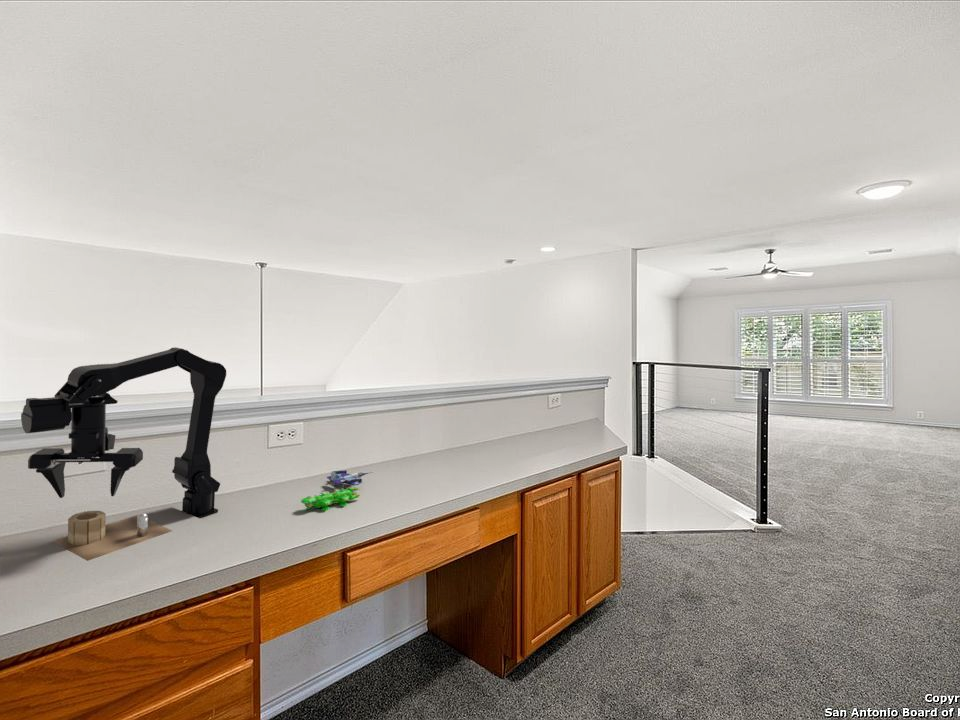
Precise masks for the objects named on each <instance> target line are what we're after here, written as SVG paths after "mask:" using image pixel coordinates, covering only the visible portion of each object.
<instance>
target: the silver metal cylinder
mask: <svg viewBox="0 0 960 720" xmlns="http://www.w3.org/2000/svg"><path fill="white" fill-rule="evenodd" d="M148 520H149V515H148V514H147V513H146V512H145V513H144V512H142V513H140V514H138V517H137V536H138V537H143V536H146V535H147V534H148Z"/></svg>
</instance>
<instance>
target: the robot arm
mask: <svg viewBox="0 0 960 720" xmlns="http://www.w3.org/2000/svg"><path fill="white" fill-rule="evenodd" d="M175 367H178V368H180V369H182V370H183V371H186V372H187V373H189V380H190V386H191V388H192V393H193V400H192V407H191V413H190V419H189V426H188V434H187V438H186V445H185V450H184V452H183V454H181V456H175V457H174V465H173V468H172V471H171V473H172V474H174V479H175V480H176V481H177V482H178V483H179V484H180V485H181V487H182V488H183V489H186V490H185V491H184V495H183V497H182V509H181V512H182V513H184V514H185V513H186V514H188V515H190V516H192V517H195V518H197V519H201V518H204V517H207V516H209V515H212V514H214V513H218V512H219V509H218V508H216V507H215V499H216V498H215V495H216V494H215V493H217V492H218V491H219V489H220V486H221V482H219V481H218V480H216V479H215V478H214V477H213V476H212V473H211V472H212V471H211V467H212V466H211V464H212V463H211V461H210V457H209V455H208V448H209V447H208V446H209V441H210V435H211V428H212V422H213V416H214V408H215V401H216V397H217V395H218V394H219V393H220V391H221V390H222V389H223V387H224V383H225V381H226V377H227V369H226V368H225V366H224V365H223V364H222V363H219V362H216V361H211V360H208V359H207V360H206V359H204V358H202V357H200V356H198V355H196V354H194V353H192V352H190V351H189V350H188V349H186V348H185V349H184V348H179V347H171V348H170V349H169V348H168V349H167V350H162V351H160V352H159V351H158V352H156V353H151V354H148V355H144V356H140V357H136V358H133V359H132V358H131V359H129V360H124V361H121V362H117V363H115V362H114V363H101V364H100V363H99V364H89V365H81V366H77V367H74V368H73V369H72V370H71V371H70V373H69V374H68V376H67V380H66V382H65V383H64V384H63V385H62V386H61V387H60V389H58V391H57V392H56V393H55V394H54V396H53V397H44V398H43V397H42V398H37V397H29V398H25V405H24V406H23V408H22V412H21V414H20V417H21V418H20V421H21V425H22V429H23V431H24V433H25V434H34V433H35V434H36V433H42V432H43V433H44V432H49V431H52V432H53V431H58V430H64V429H65V428H66V427H68V426H70V425H71V428H70V430H71V432H69V433H68V439H70V445H71V446H70V451H69V452H68V453H67V452H66V453H65V450H64V448H62V447H61V448H57V447H55V448H42V449H39V450H38V451H35V452H34V453H33V454H31V455H29V457H28V459H27V469H28V470H29V469H30V470H34V469H35V472H36V473H39V474H41V475H43V477H44V478H45V479H46V480H47V482H49V484H50V485H51V487H52V488H53V490H54V491H55V493H56V494H57V496H58V497H59V499H63V498H64V497H65V492H66V487H65V485H66V484H65V466H66V463H107V462H108V463H112V465H113V467H112V468H111V469H110V496H111V497H114V496H115V495H116V494H117V491H118V488H119V486H120V483H121V481H122V479H123V477H124V476H125V473H126V472H127V471H129V470H130V469H131V468H134V467H136V466H138V464H139V463H141V461H143V459H144V456H143V455H144V451H143V450H142V448H140V447H122V448H120V449H118V451H116V452H107V451H110V450H114V449H115V443H116V434H112V433H109V430H108V427H107V426H106V418H107V417H106V414H107V413H106V411H107V408H106V407H107V405H114V404H115V405H116V404H117V403H118V399H115V398H114V397H112V396H111V394H110V393H109V392H110V391H113V390H115V389H116V388H118V387H119V386H121V385H122V384H124V383H126V382H129V381H132V380H134V379H138V378H141V377H144V376H148V375H151V374H155V373H159V372H162V371H166V370H168V369H172V368H173V369H174V368H175Z"/></svg>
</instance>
